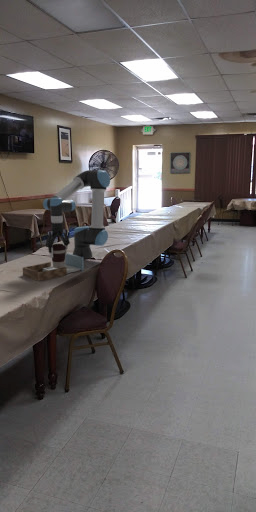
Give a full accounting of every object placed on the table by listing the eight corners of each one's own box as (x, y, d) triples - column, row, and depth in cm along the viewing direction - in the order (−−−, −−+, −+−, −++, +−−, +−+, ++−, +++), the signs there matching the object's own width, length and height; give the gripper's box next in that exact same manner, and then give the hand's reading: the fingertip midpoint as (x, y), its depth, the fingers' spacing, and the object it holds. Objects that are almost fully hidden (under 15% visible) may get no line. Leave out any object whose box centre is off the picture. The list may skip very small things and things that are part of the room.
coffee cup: (67, 268, 253) (66, 245, 250) (51, 269, 251) (50, 246, 247) (65, 264, 263) (64, 242, 259) (50, 265, 260) (49, 243, 257)
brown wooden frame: (50, 269, 264) (49, 262, 263) (66, 274, 250) (66, 267, 249) (22, 275, 250) (22, 267, 249) (39, 281, 237) (38, 273, 235)
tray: (66, 265, 273) (66, 253, 271) (83, 270, 260) (83, 257, 258) (41, 271, 259) (40, 257, 257) (57, 276, 246) (57, 262, 244)
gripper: (68, 220, 260) (69, 252, 265) (38, 223, 245) (40, 258, 250) (74, 221, 255) (75, 254, 260) (45, 224, 240) (46, 260, 245)
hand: (58, 256), depth 255 cm, fingers closed on coffee cup, 10 cm apart
